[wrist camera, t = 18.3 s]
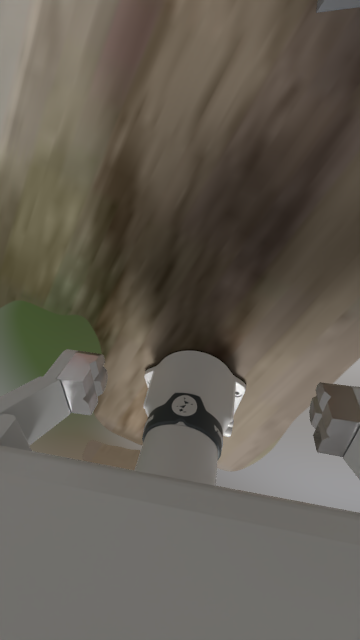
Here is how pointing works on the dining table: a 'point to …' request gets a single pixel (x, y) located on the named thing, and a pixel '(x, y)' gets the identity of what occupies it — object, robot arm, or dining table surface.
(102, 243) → the dining table surface
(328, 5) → the slate grey base block
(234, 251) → the dining table surface
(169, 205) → the dining table surface
